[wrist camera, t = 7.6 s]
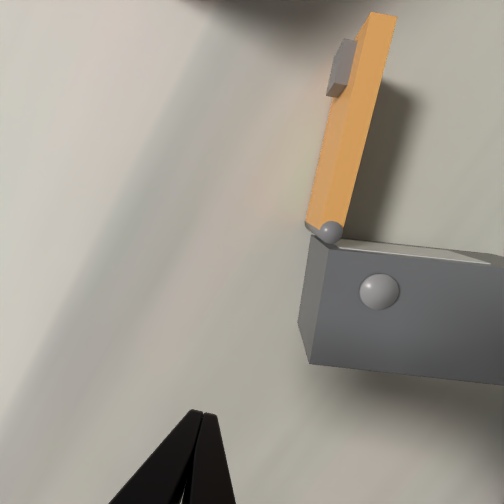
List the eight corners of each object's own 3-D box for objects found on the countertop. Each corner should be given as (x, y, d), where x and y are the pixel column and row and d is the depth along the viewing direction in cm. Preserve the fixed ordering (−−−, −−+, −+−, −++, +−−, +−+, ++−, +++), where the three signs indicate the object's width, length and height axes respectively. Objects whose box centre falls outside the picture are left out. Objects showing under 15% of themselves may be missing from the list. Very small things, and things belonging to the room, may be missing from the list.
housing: (479, 342, 20) (554, 394, 15) (297, 323, 20) (310, 367, 15) (508, 254, 19) (603, 278, 13) (311, 234, 19) (330, 249, 14)
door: (358, 67, 16) (399, 14, 11) (319, 232, 19) (339, 245, 14) (328, 61, 16) (357, 6, 11) (293, 227, 19) (304, 239, 14)
